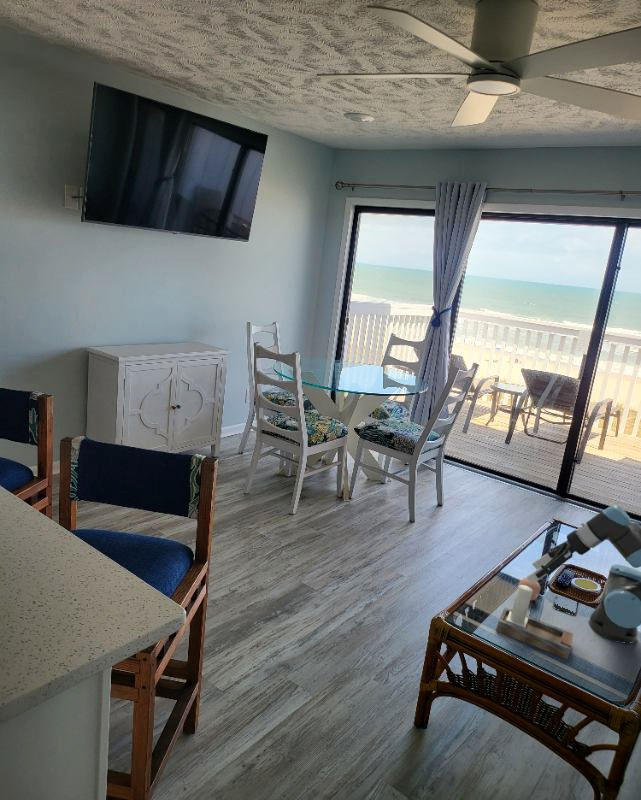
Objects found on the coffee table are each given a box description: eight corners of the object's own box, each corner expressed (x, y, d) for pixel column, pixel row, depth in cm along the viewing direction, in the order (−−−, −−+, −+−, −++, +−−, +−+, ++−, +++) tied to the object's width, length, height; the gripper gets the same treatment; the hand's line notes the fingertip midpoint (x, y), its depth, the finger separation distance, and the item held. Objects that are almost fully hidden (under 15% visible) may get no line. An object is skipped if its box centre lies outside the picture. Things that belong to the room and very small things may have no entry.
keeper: (527, 622, 201) (536, 587, 199) (523, 631, 195) (533, 596, 192) (508, 615, 204) (517, 580, 201) (505, 624, 197) (514, 589, 195)
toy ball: (542, 604, 220) (547, 584, 219) (524, 605, 218) (529, 584, 216) (528, 593, 228) (533, 573, 226) (511, 593, 225) (516, 573, 224)
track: (570, 643, 197) (573, 632, 197) (567, 659, 188) (570, 647, 187) (502, 616, 207) (505, 605, 206) (496, 630, 197) (499, 619, 196)
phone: (578, 598, 229) (575, 614, 216) (578, 601, 230) (575, 617, 216) (557, 590, 233) (552, 605, 219) (556, 593, 233) (552, 608, 219)
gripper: (578, 519, 211) (529, 553, 220) (572, 541, 189) (518, 577, 198) (593, 537, 210) (544, 570, 218) (589, 560, 187) (534, 596, 196)
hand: (532, 573), depth 208 cm, fingers open, 13 cm apart
